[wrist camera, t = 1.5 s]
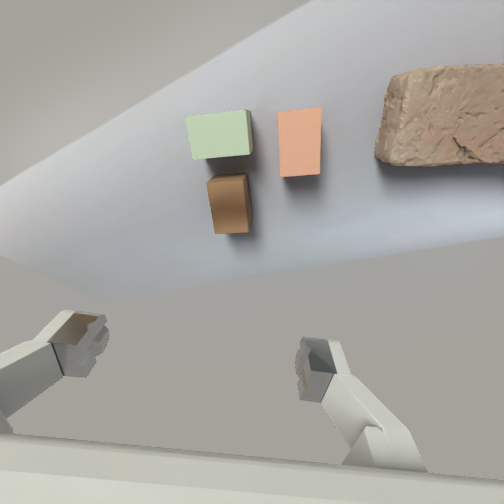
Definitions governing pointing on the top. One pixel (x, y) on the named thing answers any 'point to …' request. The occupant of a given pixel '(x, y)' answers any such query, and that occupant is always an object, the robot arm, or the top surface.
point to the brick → (443, 117)
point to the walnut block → (230, 203)
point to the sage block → (220, 134)
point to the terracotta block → (299, 141)
